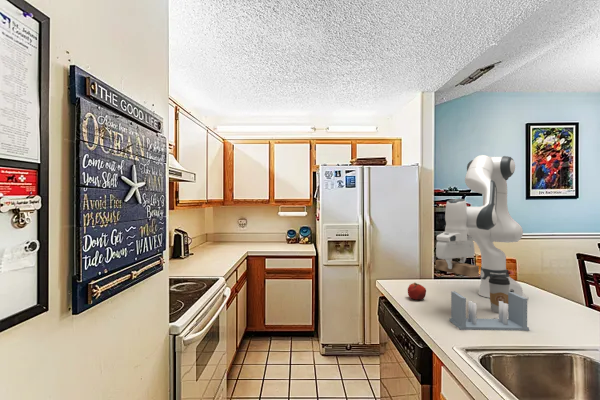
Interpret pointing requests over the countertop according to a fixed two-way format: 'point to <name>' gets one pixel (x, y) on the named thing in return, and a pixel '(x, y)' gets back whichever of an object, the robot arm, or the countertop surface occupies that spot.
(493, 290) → the coffee cup
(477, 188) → the robot arm
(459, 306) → the shelf stand
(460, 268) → the shelf board
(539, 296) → the countertop surface
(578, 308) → the countertop surface
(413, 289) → the tomato
